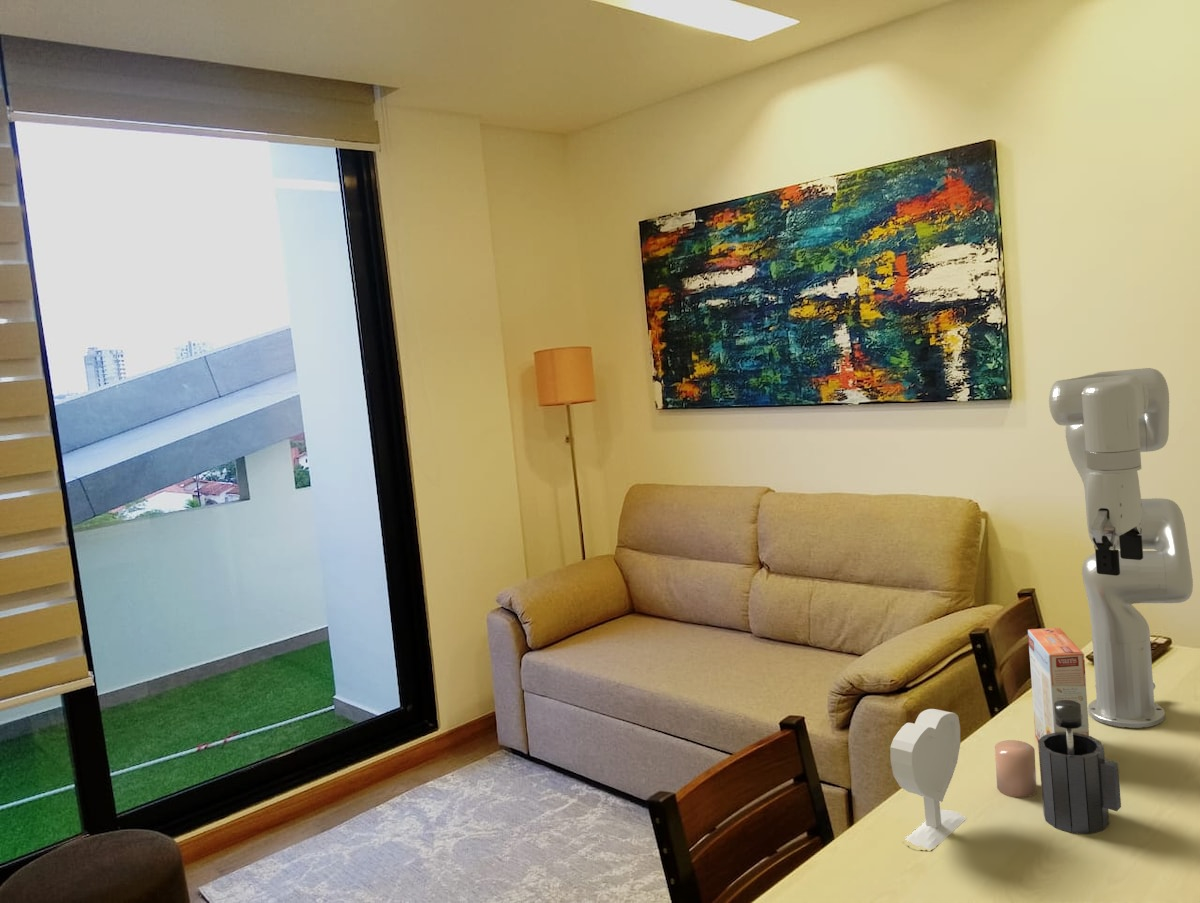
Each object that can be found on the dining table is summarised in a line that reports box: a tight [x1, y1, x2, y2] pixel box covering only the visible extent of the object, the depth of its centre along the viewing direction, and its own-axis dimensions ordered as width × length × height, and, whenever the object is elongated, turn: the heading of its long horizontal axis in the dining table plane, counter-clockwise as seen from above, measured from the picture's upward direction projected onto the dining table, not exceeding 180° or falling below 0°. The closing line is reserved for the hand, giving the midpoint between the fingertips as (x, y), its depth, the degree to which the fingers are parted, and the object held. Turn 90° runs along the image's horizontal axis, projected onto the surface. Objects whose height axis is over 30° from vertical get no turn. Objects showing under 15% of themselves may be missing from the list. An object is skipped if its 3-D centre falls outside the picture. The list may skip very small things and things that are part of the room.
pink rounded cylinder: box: [994, 739, 1038, 799], centre depth 153 cm, size 6×6×7 cm
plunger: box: [1054, 700, 1082, 755], centre depth 142 cm, size 6×6×15 cm
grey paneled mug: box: [1037, 732, 1122, 835], centre depth 141 cm, size 9×11×12 cm
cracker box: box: [1027, 627, 1090, 741], centre depth 162 cm, size 14×6×21 cm, turn 168°
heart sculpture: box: [889, 708, 967, 850], centre depth 144 cm, size 16×5×18 cm, turn 133°
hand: (1120, 566), depth 147 cm, fingers open, 9 cm apart
